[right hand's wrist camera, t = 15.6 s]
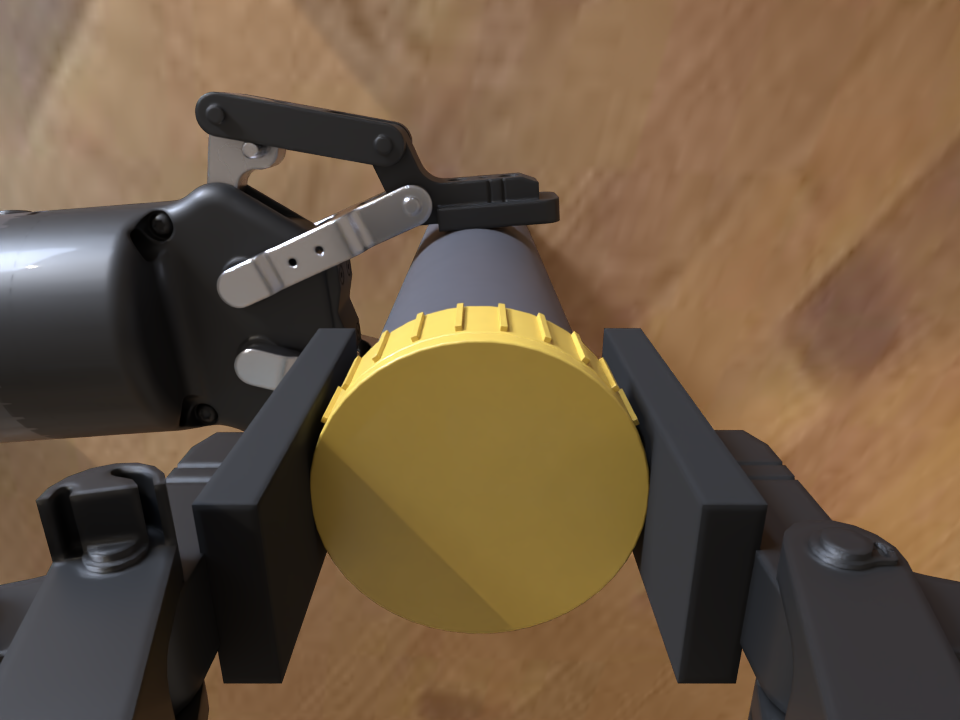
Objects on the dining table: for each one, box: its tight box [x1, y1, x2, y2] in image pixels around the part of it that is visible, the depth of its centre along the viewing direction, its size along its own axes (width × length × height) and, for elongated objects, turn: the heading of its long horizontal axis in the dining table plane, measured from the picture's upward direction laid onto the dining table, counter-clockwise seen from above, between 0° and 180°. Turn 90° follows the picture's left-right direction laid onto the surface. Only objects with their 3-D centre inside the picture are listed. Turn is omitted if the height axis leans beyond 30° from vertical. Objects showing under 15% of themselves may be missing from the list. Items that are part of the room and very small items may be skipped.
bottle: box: [378, 224, 573, 342], centre depth 20 cm, size 5×5×18 cm
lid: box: [310, 303, 649, 634], centre depth 11 cm, size 5×5×2 cm
